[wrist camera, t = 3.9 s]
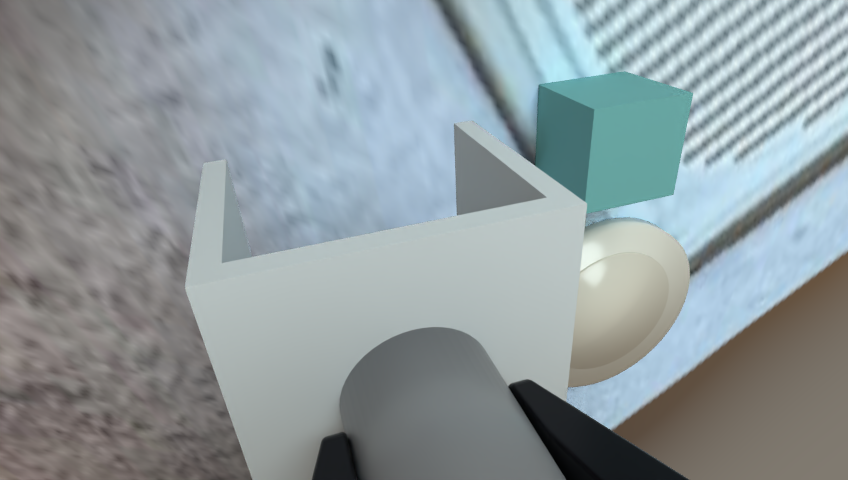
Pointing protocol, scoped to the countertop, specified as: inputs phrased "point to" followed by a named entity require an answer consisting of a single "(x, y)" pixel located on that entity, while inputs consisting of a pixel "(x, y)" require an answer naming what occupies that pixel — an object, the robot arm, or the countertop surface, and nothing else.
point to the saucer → (624, 296)
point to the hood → (397, 327)
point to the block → (612, 137)
